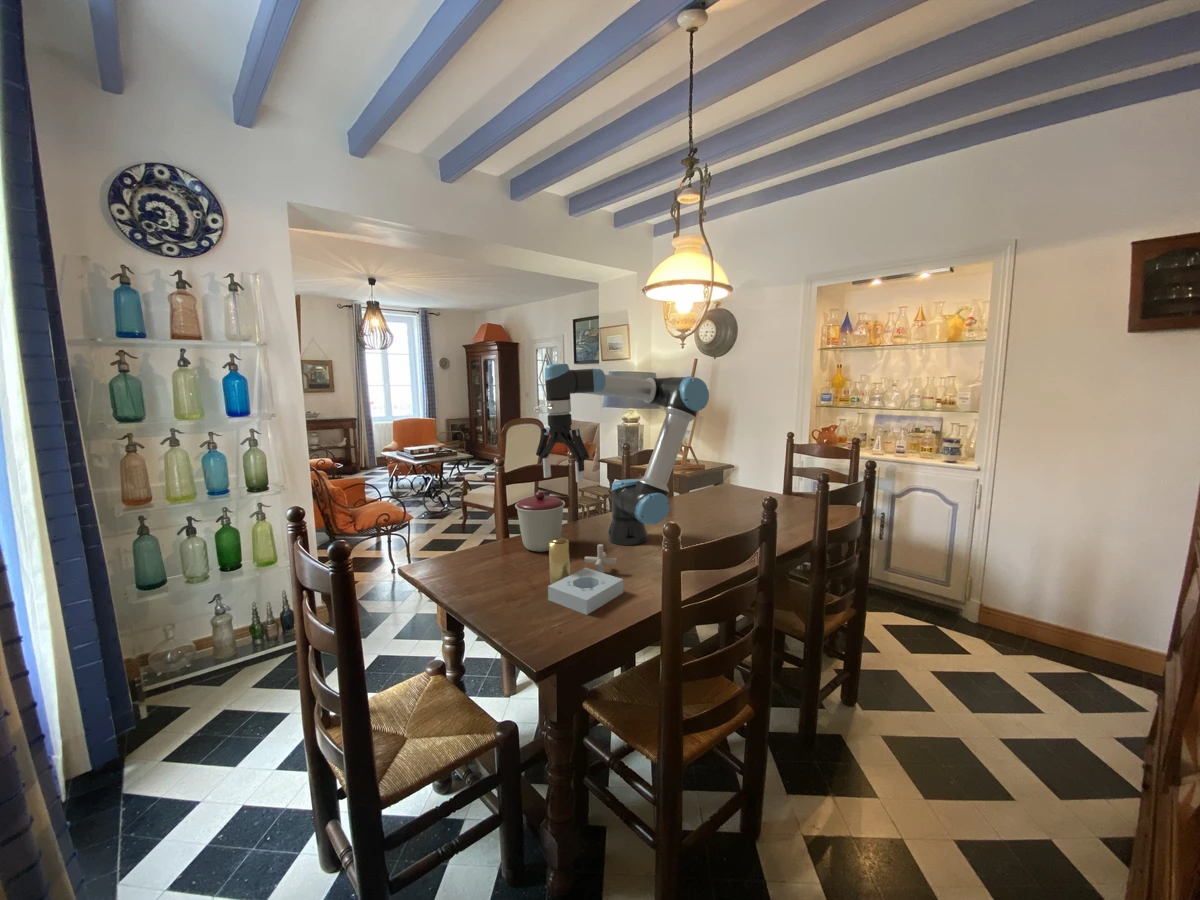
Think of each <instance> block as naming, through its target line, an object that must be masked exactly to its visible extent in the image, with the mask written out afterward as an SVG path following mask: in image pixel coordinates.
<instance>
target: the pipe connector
mask: <svg viewBox="0 0 1200 900" xmlns="http://www.w3.org/2000/svg"><path fill="white" fill-rule="evenodd" d="M596 546H597V550H596V551H597V556H584V560H583V562H584V563H588V564H590V563H591V564H594V570H596V571H598V572H601V573H605V570H604V569H605V566H604V564H607V565H617V560H618V558H617V557H616V558H615V557H614V558H613V557H607V553H606V552H605V551H604V544H601V543H600V544H597V545H596Z"/></svg>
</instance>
